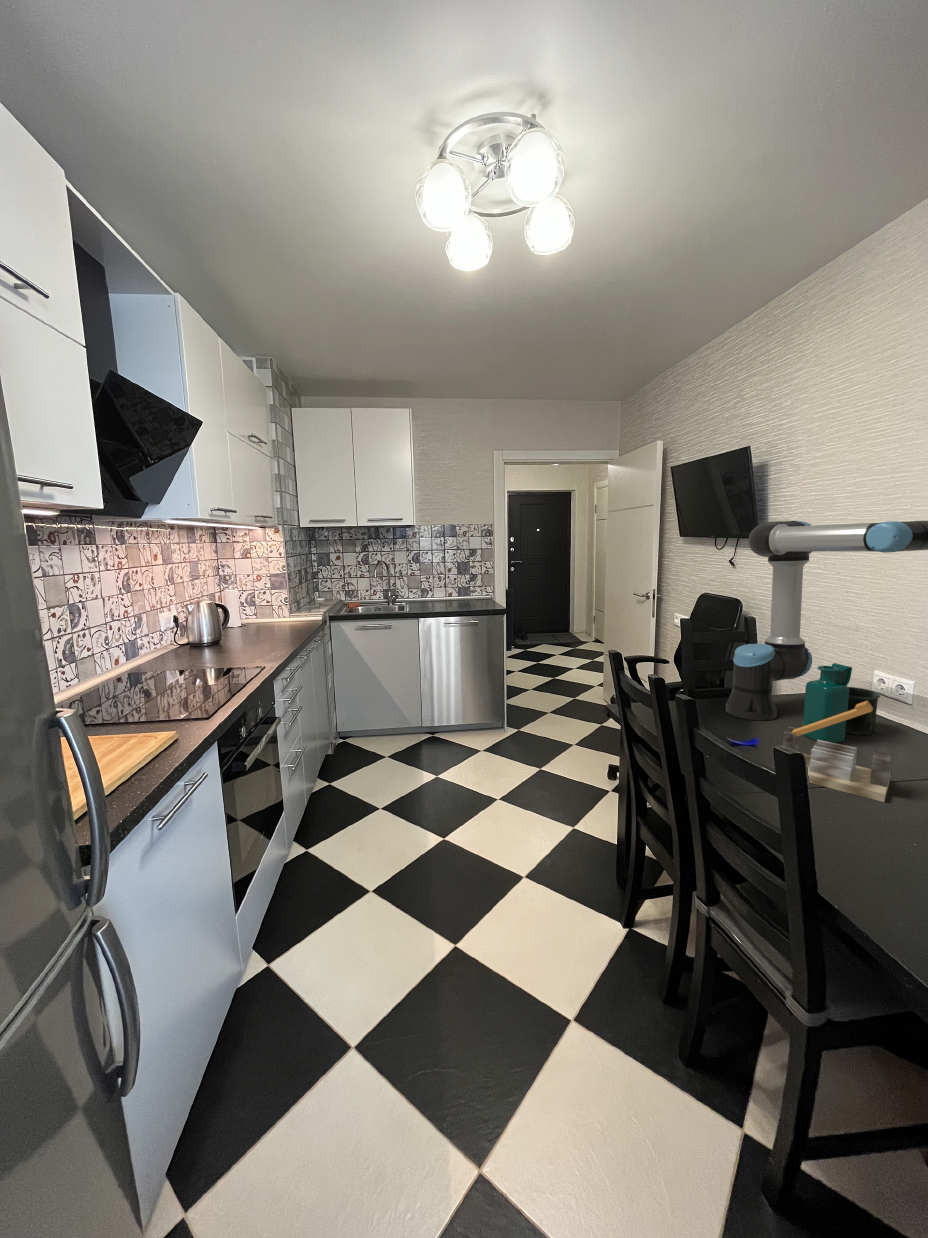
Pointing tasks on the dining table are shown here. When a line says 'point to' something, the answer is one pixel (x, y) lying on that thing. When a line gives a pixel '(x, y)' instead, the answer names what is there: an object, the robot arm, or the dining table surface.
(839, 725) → the pitcher
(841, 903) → the dining table surface
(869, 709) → the wooden stick
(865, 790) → the clear acrylic stand
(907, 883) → the dining table surface
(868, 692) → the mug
